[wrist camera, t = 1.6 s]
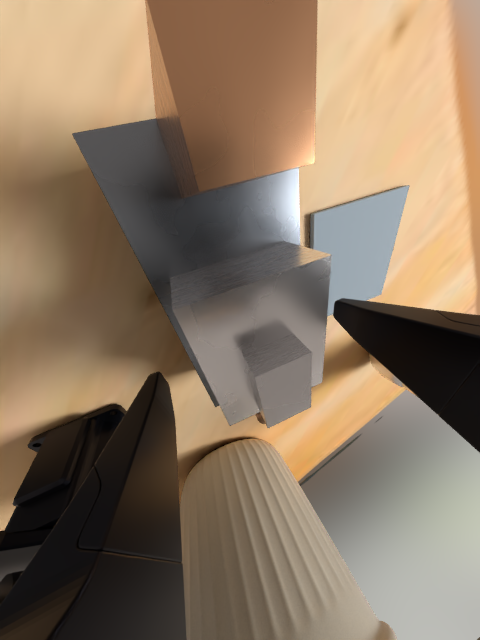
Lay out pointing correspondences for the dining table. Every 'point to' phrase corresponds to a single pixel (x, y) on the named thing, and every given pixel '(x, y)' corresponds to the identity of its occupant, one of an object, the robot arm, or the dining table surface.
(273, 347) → the lever cap
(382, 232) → the rubber pad
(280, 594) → the canister
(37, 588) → the robot arm
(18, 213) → the dining table surface
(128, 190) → the body
